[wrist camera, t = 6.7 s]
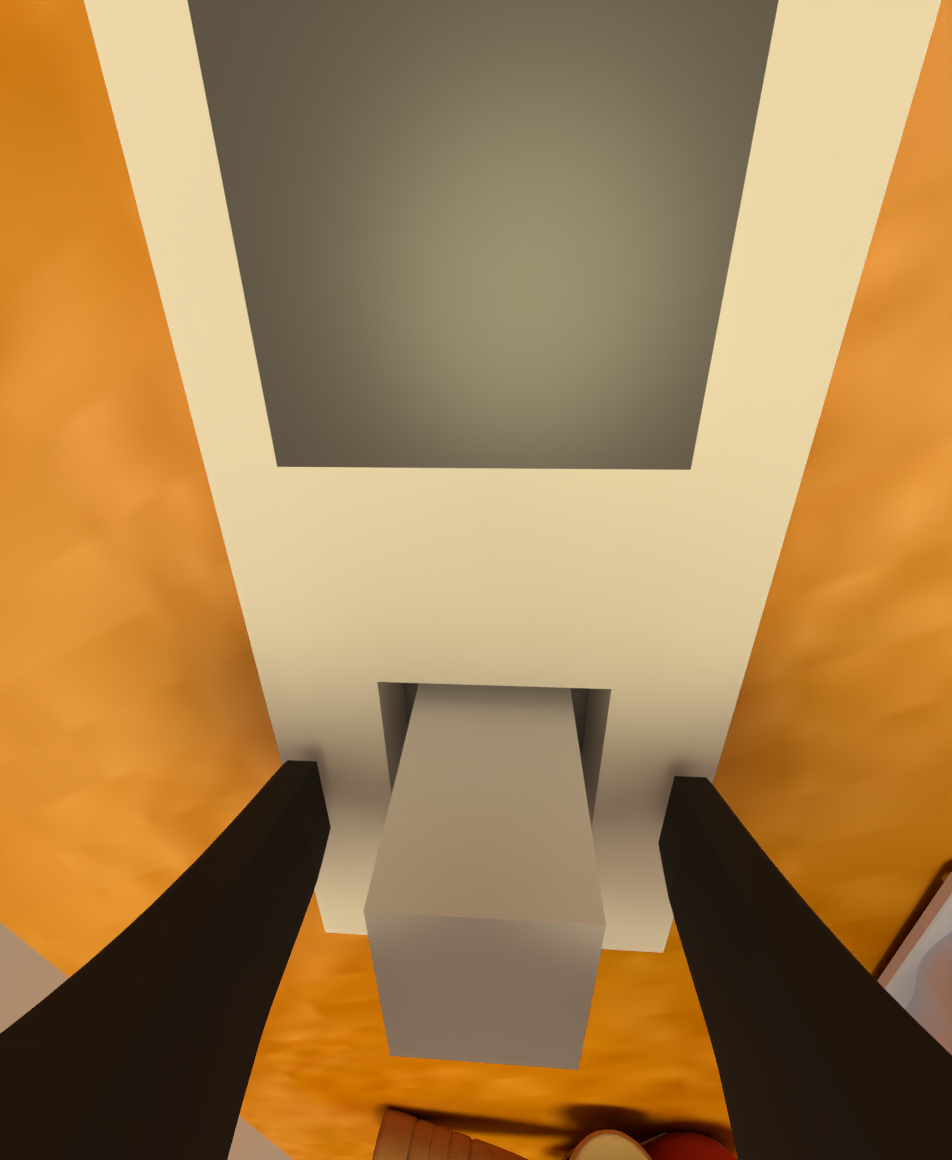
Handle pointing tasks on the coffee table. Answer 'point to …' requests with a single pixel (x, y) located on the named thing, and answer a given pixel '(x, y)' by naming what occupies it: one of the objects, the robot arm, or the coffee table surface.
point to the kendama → (438, 1156)
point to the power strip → (508, 354)
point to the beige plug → (487, 882)
